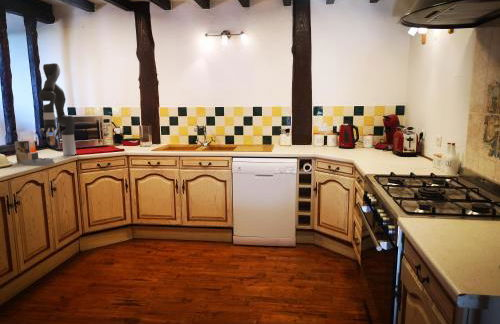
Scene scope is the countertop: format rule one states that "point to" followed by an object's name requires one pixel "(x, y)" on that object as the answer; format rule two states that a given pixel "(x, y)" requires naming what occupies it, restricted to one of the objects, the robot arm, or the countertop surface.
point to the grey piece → (37, 160)
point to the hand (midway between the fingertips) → (51, 141)
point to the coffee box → (22, 150)
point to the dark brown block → (51, 140)
